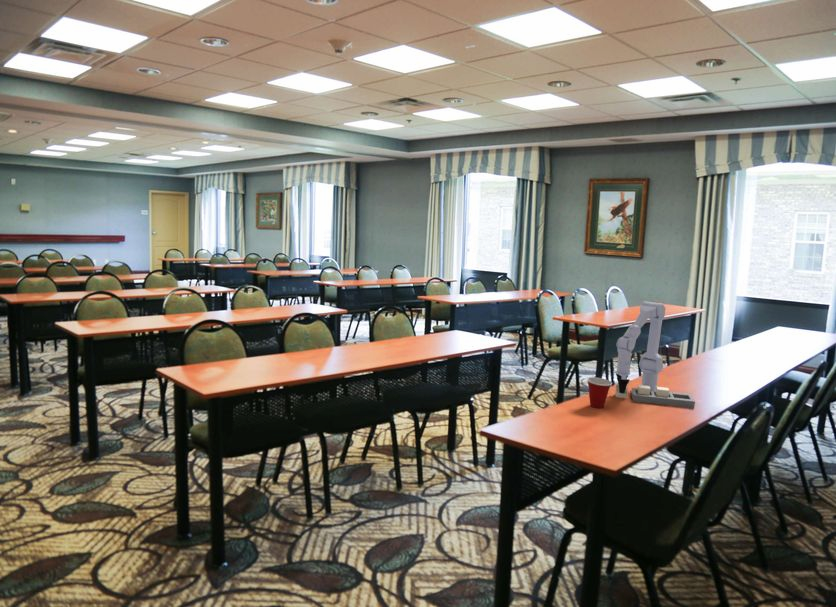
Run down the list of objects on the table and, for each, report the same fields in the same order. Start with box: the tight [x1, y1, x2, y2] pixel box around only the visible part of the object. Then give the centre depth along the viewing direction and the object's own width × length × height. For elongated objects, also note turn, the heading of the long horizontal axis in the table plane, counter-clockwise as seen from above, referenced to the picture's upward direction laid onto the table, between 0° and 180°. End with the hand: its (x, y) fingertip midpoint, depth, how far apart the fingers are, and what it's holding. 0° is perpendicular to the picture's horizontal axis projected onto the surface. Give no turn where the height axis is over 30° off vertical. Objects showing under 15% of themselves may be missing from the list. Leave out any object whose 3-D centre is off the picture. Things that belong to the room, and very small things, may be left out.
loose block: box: [614, 384, 629, 399], centre depth 285 cm, size 5×5×5 cm
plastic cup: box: [586, 376, 613, 409], centre depth 267 cm, size 11×11×12 cm
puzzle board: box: [630, 384, 696, 409], centre depth 280 cm, size 13×26×6 cm, turn 74°
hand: (621, 390), depth 285 cm, fingers open, 7 cm apart
